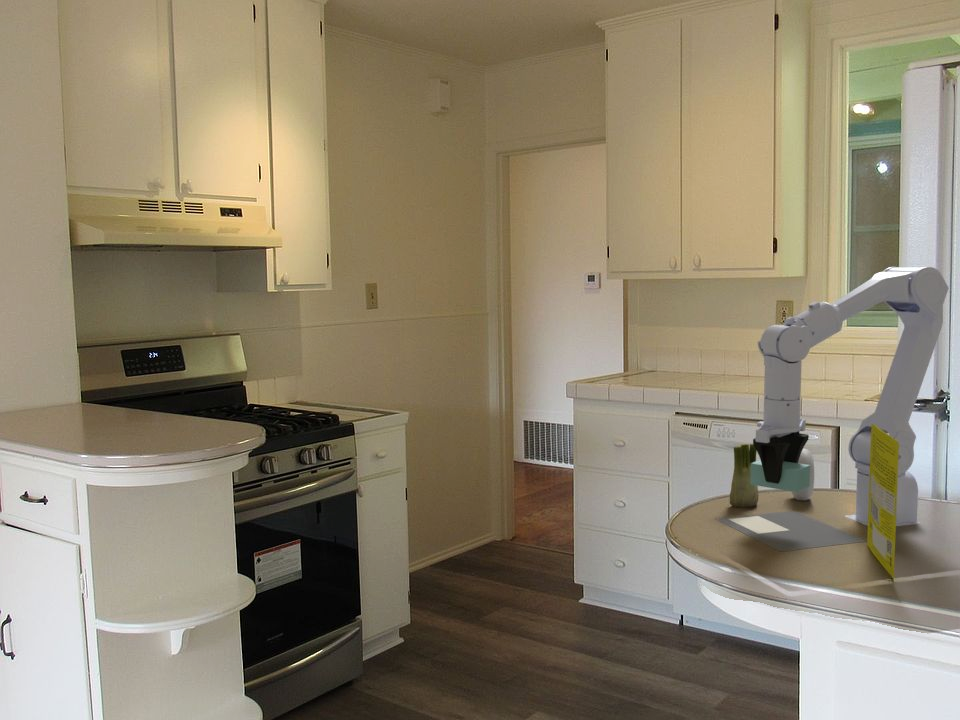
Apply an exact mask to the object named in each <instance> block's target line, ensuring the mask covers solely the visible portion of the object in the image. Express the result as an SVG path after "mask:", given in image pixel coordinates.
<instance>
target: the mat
mask: <svg viewBox="0 0 960 720" xmlns="http://www.w3.org/2000/svg"><path fill="white" fill-rule="evenodd" d="M715 521H718V522H720V523H722V524H723V525H726V526H728V527H730V528H732V529H733V530H737V531H738V532H740V533H742V534H744V535H745V536H749V537H751V538H752V539H754V540H755V541H756V540H757V541H758V542H760V543H762V544H765V545H766V546H768V547H771V548H772V549H774V550H776V551H778V552H788V551H789V552H790V551H798V550H807V549H814V548H817V549H818V548H822V547H823V548H824V547H833V546H840V545H848V544H850V545H851V544H857V543H859V544H860V543H865V542H867V540H866V539H863V538H861V537H859V536H856V535H853V534H852V533H848V532H846V531H844V530H841V529H839V528H837V527H834V526H832V525H829V524H826V522H825V523H824V522H822V521H820V520H817V519H815V518H812V517H810V516H807V515H805V514H803V513H800V512H799V511H795V510H790V511H780V512H779V511H778V512H770V513H758V514H751V515H740V516H730V517H721V518H715Z"/></svg>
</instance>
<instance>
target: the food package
mask: <svg viewBox="0 0 960 720" xmlns="http://www.w3.org/2000/svg"><path fill="white" fill-rule="evenodd" d="M898 455H899V442H898V441H896V440H895V439H894V438H892V437H891V436H890V435H889V433H885V432H884V431H882V430H881V429H880V428H878V427H877V426H875V425H873V424H871V446H870V477H869V506H868V526H867V533H866V534H867V537H866V538H867V540H866V541H867V548H868V549H869V550H870V551H871V552H872V554H873V556H874V557H875V558H876V559H877V560H878V562H879V563H880V564H881V565H882V567H883V568H884V570H885V571H886V572H887V573H888V574H889V575H890V578H889V579H890V580H891V582H892V583H893V584H894V583H895V556H896V535H897V533H896V531H897V530H896V529H897V526H896V510H897V483H898Z"/></svg>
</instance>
